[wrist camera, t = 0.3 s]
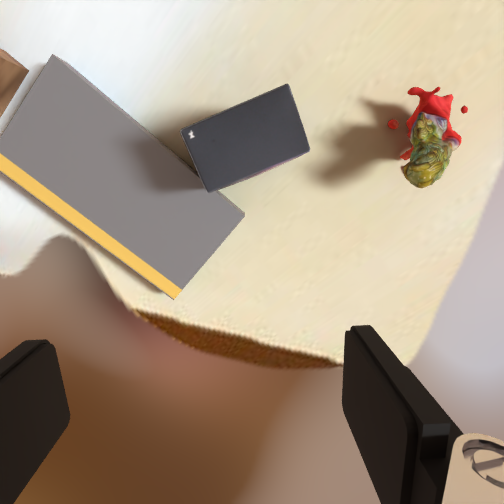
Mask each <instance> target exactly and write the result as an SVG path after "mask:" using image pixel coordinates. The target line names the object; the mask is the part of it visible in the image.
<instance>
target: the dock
mask: <svg viewBox="0 0 504 504" xmlns="http://www.w3.org/2000/svg"><path fill="white" fill-rule="evenodd" d="M0 172H1V173H2V174H4V175H5V176H6V177H8V178H9V179H10V180H12V181H13V182H14V183H16V184H17V185H18V186H20V187H21V188H23V189H24V190H25V191H27V192H28V193H29V194H31V195H32V196H33V197H35V198H36V199H37V200H39V201H40V202H42V203H43V204H44V205H46V206H47V207H48V208H50V209H51V210H52V211H54V212H55V213H56V214H58V215H59V216H60V217H62V218H63V219H65V220H66V221H67V222H69V223H70V224H71V225H73V226H74V227H75V228H77V229H78V230H79V231H81V232H82V233H83V234H85V235H86V236H88V237H89V238H90V239H92V240H93V241H94V242H96V243H97V244H98V245H100V246H101V247H102V248H104V249H105V250H106V251H108V252H109V253H111V254H112V255H113V256H115V257H116V258H117V259H119V260H120V261H121V262H123V263H124V264H125V265H127V266H128V267H130V268H131V269H132V270H134V271H135V272H136V273H138V274H139V275H140V276H142V277H143V278H144V279H146V280H147V281H148V282H150V283H151V284H153V285H154V286H155V287H157V288H158V289H159V290H161V291H162V292H163V293H165V294H166V295H167V296H169V297H170V298H171V299H173V300H174V299H175V298H176V297H177V295H178V294H179V293H180V292H181V291H182V289H183V288H184V287H185V286H186V285H187V284H188V282H189V281H190V280H191V279H192V278H193V277H194V275H195V274H196V273H197V272H198V271H199V269H200V268H201V267H202V266H203V265H204V264H205V262H206V261H207V260H208V259H209V258H210V257H211V255H212V254H213V253H214V252H215V251H216V249H217V248H218V247H219V246H220V245H221V244H222V242H223V241H224V240H225V239H226V238H227V237H228V235H229V234H230V233H231V232H232V231H233V229H234V228H235V227H236V226H237V225H238V224H239V222H240V221H241V220H242V219H243V218H244V217H245V213H244V212H243V211H242V210H241V209H239V208H238V207H237V206H236V205H235V204H233V203H232V202H231V201H230V200H229V199H228V198H226V197H225V196H224V195H223V194H222V193H220V192H219V191H218V190H217V191H214V192H211V193H207V192H206V191H205V189H204V186H203V184H202V182H201V179H200V177H199V175H198V173H197V172H196V171H194V170H193V169H192V168H191V167H190V166H189V165H187V164H186V163H185V162H184V161H183V160H182V159H180V158H179V157H178V156H177V155H176V154H174V153H173V152H172V151H171V150H170V149H169V148H167V147H166V146H165V145H164V144H163V143H161V142H160V141H159V140H158V139H157V138H156V137H154V136H153V135H152V134H151V133H150V132H148V131H147V130H146V129H145V128H144V127H143V126H141V125H140V124H139V123H138V122H137V121H135V120H134V119H133V118H132V117H131V116H130V115H128V114H127V113H126V112H125V111H124V110H123V109H121V108H120V107H119V106H118V105H117V104H115V103H114V102H113V101H112V100H111V99H110V98H108V97H107V96H106V95H105V94H104V93H102V92H101V91H100V90H99V89H98V88H97V87H95V86H94V85H93V84H92V83H91V82H89V81H88V80H87V79H86V78H85V77H84V76H82V75H81V74H80V73H79V72H78V71H76V70H75V69H74V68H73V67H72V66H71V65H69V64H68V63H66V62H65V61H63V60H62V59H60V58H58V57H57V56H55V55H53V54H52V55H51V57H50V59H49V60H48V62H47V63H46V65H45V67H44V68H43V70H42V72H41V73H40V75H39V76H38V78H37V80H36V81H35V83H34V84H33V86H32V88H31V89H30V91H29V92H28V94H27V96H26V97H25V99H24V100H23V102H22V104H21V105H20V107H19V108H18V110H17V112H16V113H15V115H14V116H13V118H12V120H11V121H10V123H9V125H8V126H7V128H6V129H5V131H4V133H3V134H2V136H1V137H0Z"/></svg>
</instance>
